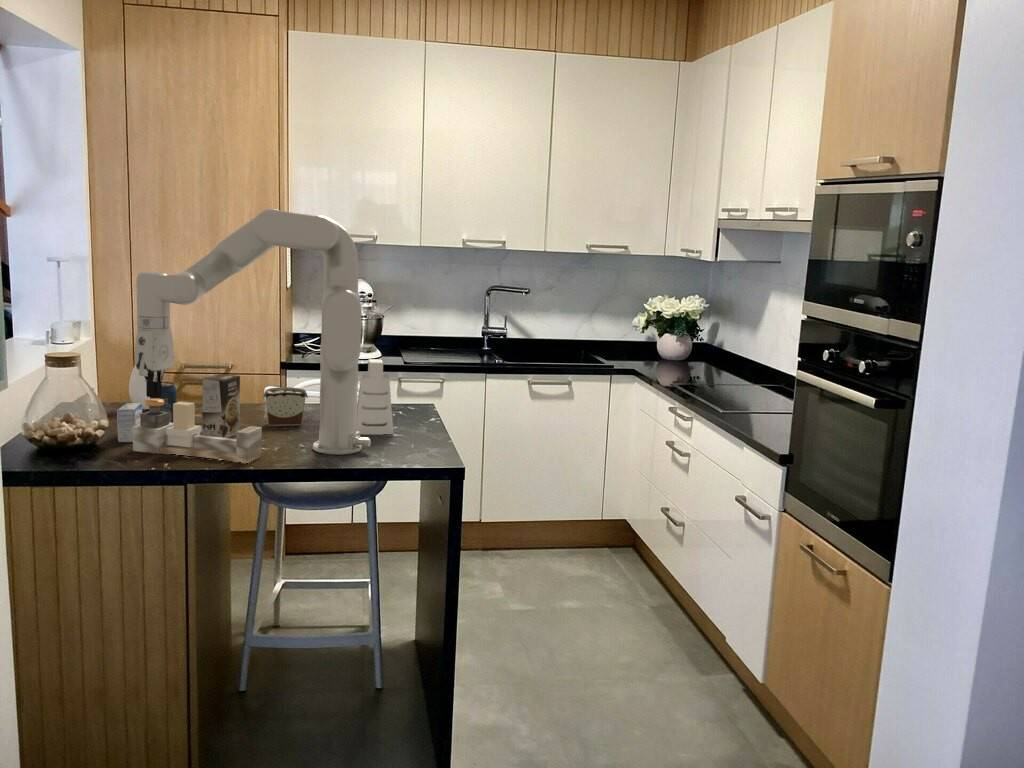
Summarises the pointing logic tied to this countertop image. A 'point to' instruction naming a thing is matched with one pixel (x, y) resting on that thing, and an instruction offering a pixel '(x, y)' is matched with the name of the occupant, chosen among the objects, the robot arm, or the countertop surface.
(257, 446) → the slide rail
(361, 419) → the grater
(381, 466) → the countertop surface
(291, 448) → the countertop surface
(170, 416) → the soda can
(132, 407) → the medicine box
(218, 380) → the coffee box
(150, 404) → the button
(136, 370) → the sauce bottle
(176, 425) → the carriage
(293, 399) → the food container
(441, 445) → the countertop surface
